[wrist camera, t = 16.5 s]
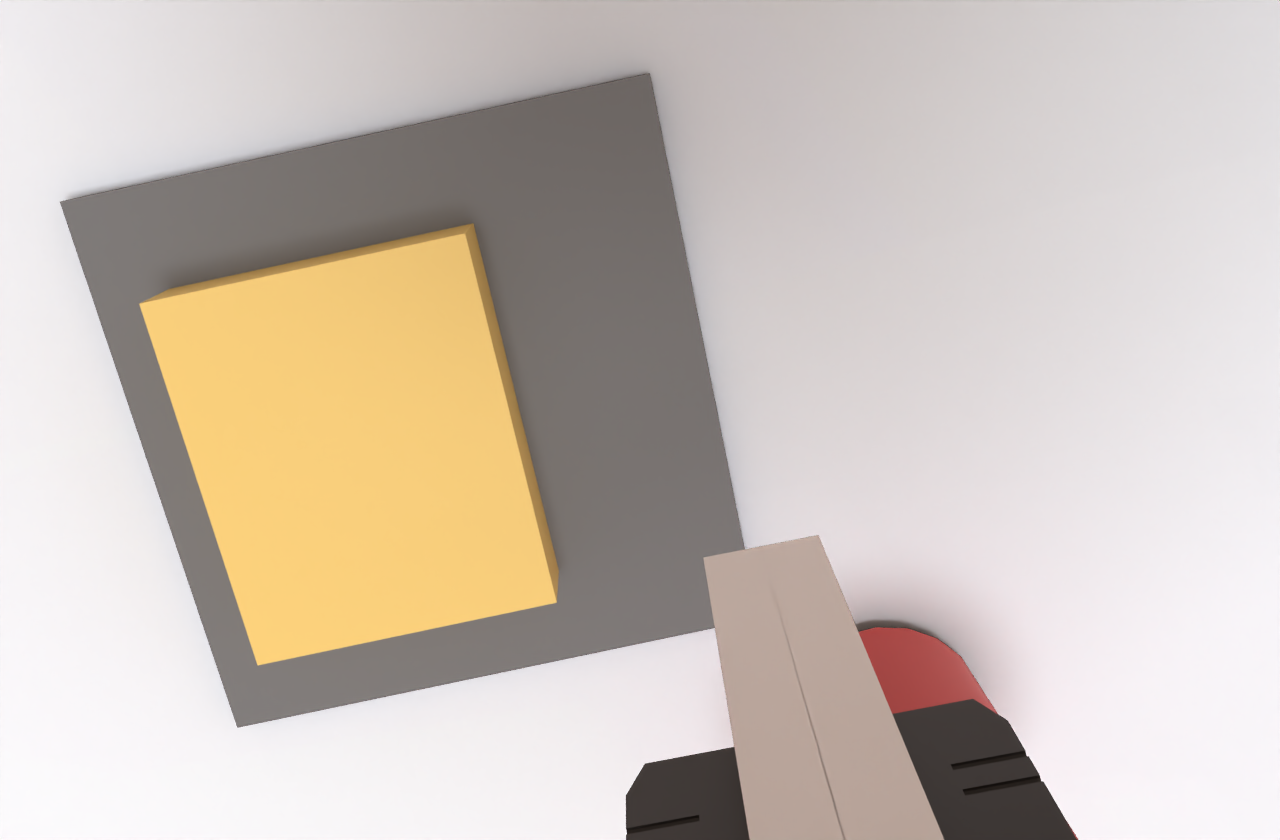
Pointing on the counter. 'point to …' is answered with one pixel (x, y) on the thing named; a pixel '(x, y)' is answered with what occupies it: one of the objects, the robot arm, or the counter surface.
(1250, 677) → the counter surface
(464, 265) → the slab
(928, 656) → the beer can
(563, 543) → the mat
